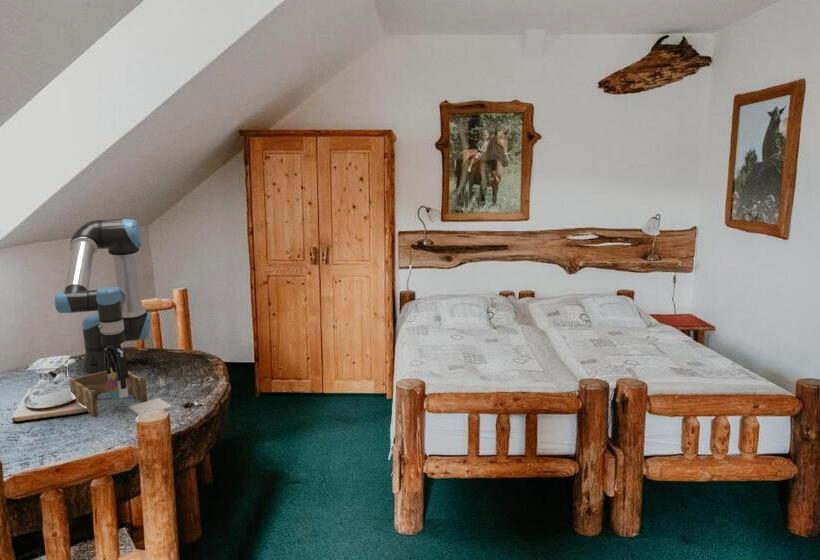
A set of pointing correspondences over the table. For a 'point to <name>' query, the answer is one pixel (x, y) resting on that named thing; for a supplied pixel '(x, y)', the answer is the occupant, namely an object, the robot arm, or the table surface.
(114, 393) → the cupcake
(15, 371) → the table surface
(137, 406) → the plate
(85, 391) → the brown open-sided frame
